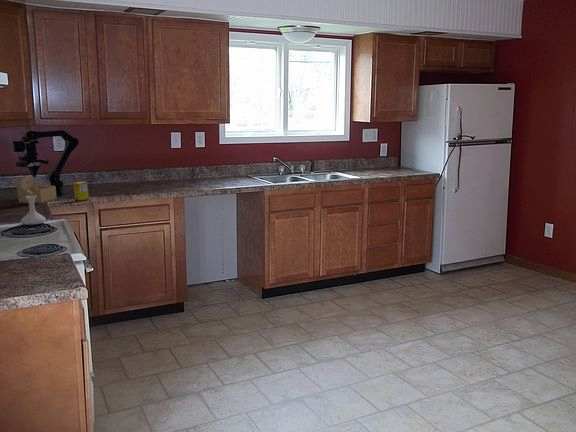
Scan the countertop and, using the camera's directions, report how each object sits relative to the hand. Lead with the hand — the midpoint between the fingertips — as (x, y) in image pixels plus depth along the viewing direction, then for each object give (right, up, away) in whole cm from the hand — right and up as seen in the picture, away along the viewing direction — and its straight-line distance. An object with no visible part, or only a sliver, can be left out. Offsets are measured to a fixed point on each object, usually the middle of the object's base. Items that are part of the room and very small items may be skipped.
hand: (34, 177), depth 344 cm
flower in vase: (+29, -28, -65) cm, 77 cm away
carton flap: (+2, -6, -17) cm, 18 cm away
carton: (+5, -15, -6) cm, 17 cm away
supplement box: (+31, -15, -5) cm, 34 cm away
